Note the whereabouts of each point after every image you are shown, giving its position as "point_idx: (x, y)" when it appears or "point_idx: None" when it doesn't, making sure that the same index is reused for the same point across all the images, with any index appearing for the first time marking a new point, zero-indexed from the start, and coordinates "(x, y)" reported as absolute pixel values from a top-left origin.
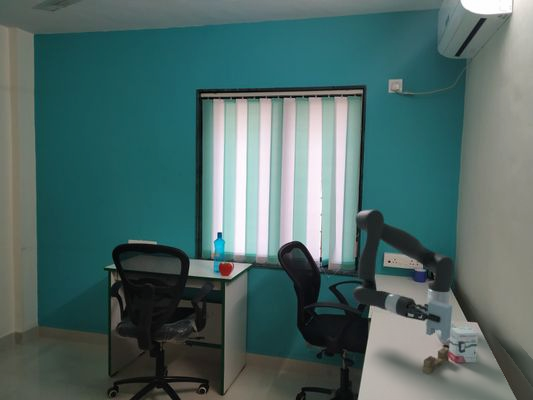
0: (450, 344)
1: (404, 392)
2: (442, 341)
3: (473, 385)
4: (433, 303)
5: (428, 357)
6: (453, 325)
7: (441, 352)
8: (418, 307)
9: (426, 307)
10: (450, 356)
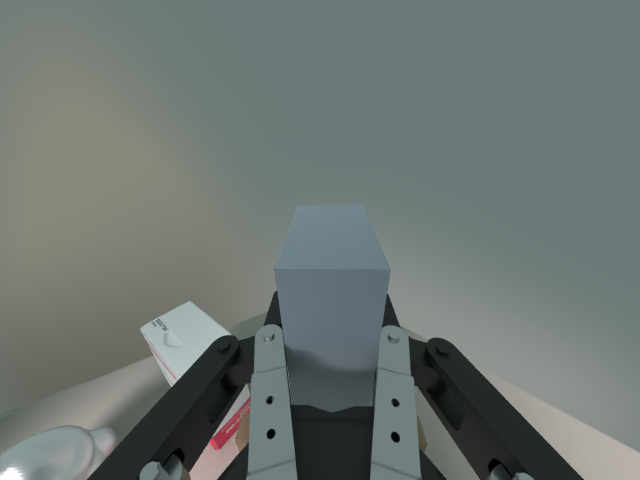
0: None
1: (585, 438)
2: None
3: None
4: (366, 245)
5: None
6: (35, 437)
7: None
8: (385, 468)
9: (285, 394)
10: (228, 434)
